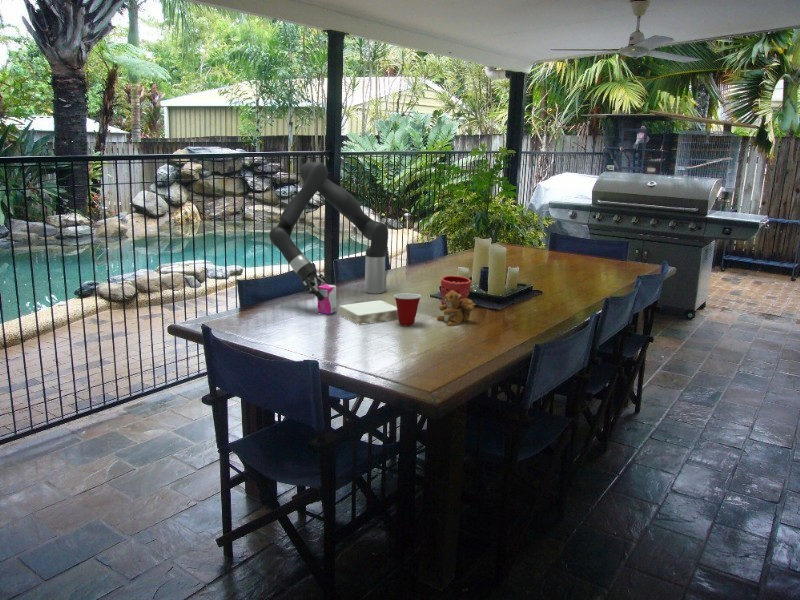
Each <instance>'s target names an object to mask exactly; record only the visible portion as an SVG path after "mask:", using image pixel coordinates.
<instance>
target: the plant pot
mask: <svg viewBox="0 0 800 600" xmlns="http://www.w3.org/2000/svg"><path fill="white" fill-rule="evenodd" d="M471 282H472V281H471V279H470V278H467V277H464V276H460V275H446V276H442V277H441V280H440V293H441V296H442V298H440V301H441V303H442V305H444V304H447V303H446V302H445V300H442V299H445V298H444V297H445V295H446V294H448V293H449V292H450V291H452V290H454V291H455V292H457V293H458V294H461V297H460V298H459V300H458V301H460V300H461V299H465V298H467V299H468V297H469V294H470V290H471V284H472V283H471Z"/></svg>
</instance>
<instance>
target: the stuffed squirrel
mask: <svg viewBox="0 0 800 600" xmlns="http://www.w3.org/2000/svg"><path fill="white" fill-rule="evenodd" d="M460 297H461V294H458V293H457V292H455V291H454V290H452V291H450V292H449V293H448V294H446V295H445V297H444V298H445V299H442V298H441V299H442V300H445V302H446V303H447V304H440V306H439V308H438V309H439V310H440V311H443V315H437V316H436V320H437V321H440V320H441V321H443V322H445V323H447V326H449V327H454V326H458V325H460V324H461V323H465V322H466V321H468V320H469V319H470V315H471V312H472V311H474V310H475V307H476V303H474V302H473V300H472V299H470V298H468V297H467V298H465V299H461V300H460V301H458V300H459V298H460Z"/></svg>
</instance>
